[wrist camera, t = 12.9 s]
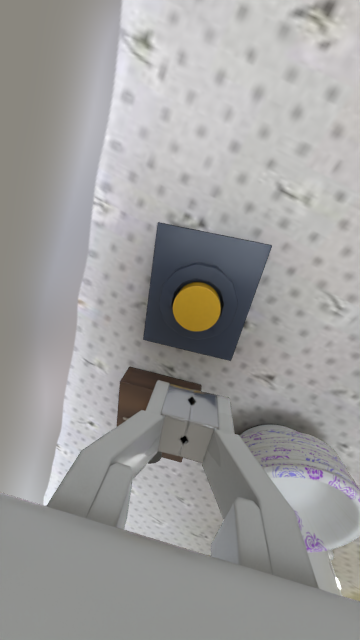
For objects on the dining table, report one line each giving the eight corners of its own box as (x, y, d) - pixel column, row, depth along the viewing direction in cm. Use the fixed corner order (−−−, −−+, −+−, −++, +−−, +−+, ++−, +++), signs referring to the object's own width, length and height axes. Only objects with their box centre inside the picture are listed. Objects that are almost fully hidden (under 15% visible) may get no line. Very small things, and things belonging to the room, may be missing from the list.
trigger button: (213, 328, 18) (213, 336, 17) (172, 318, 18) (169, 325, 17) (225, 287, 17) (226, 292, 15) (180, 277, 17) (177, 281, 15)
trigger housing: (229, 350, 23) (232, 371, 19) (148, 331, 23) (137, 348, 20) (265, 244, 18) (279, 245, 14) (163, 224, 19) (151, 220, 15)
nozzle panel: (184, 442, 30) (181, 463, 27) (123, 426, 31) (114, 445, 28) (201, 384, 25) (200, 403, 22) (129, 366, 26) (119, 382, 23)
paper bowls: (335, 406, 24) (390, 480, 16) (322, 483, 29) (360, 563, 22) (211, 407, 27) (211, 470, 19) (220, 476, 32) (223, 545, 25)
